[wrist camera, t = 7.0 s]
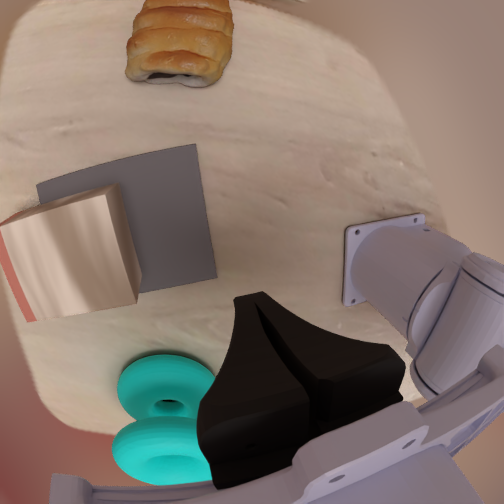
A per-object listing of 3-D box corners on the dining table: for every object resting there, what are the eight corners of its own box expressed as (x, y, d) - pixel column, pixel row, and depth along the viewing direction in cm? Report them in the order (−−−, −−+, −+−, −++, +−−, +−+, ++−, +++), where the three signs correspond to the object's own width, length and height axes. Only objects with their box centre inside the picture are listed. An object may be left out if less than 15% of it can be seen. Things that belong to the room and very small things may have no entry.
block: (105, 194, 14) (-11, 230, 13) (136, 303, 17) (27, 322, 16) (119, 182, 18) (16, 213, 16) (142, 274, 21) (44, 294, 19)
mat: (195, 143, 18) (195, 143, 18) (216, 275, 23) (217, 277, 22) (38, 184, 16) (36, 184, 16) (76, 302, 21) (75, 305, 20)
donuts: (145, 494, 18) (86, 448, 14) (143, 418, 27) (101, 358, 23) (248, 479, 20) (220, 431, 16) (227, 401, 29) (202, 336, 25)
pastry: (148, -22, 12) (145, -47, 9) (239, -16, 14) (252, -40, 11) (126, 88, 16) (115, 78, 13) (224, 91, 18) (234, 81, 14)
